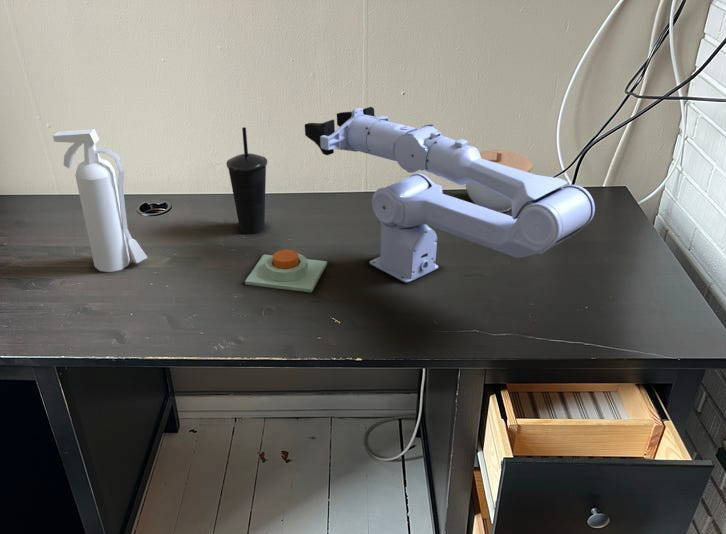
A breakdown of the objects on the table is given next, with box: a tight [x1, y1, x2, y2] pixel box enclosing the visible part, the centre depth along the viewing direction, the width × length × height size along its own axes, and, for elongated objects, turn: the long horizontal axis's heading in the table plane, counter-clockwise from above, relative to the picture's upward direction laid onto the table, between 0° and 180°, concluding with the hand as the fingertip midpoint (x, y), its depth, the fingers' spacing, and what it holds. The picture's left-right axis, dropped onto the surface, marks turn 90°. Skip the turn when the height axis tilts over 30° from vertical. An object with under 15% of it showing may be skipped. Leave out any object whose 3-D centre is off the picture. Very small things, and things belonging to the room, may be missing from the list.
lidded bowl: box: [465, 149, 534, 213], centre depth 145 cm, size 13×13×11 cm
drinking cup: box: [225, 126, 268, 235], centre depth 139 cm, size 8×8×20 cm
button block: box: [244, 253, 328, 293], centre depth 129 cm, size 12×10×2 cm
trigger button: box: [272, 249, 299, 269], centre depth 128 cm, size 4×4×2 cm
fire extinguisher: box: [52, 128, 149, 273], centre depth 128 cm, size 7×12×25 cm, turn 77°
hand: (322, 124), depth 130 cm, fingers open, 7 cm apart
